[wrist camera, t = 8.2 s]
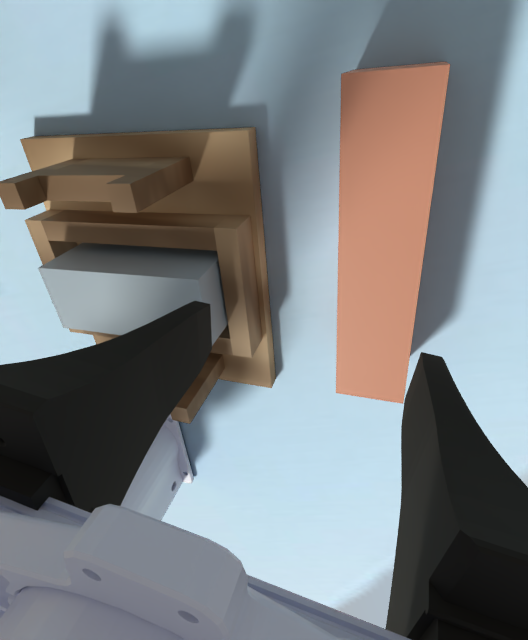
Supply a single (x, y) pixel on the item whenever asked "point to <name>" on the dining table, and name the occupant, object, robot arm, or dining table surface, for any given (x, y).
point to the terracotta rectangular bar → (384, 219)
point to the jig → (163, 223)
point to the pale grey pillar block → (132, 286)
